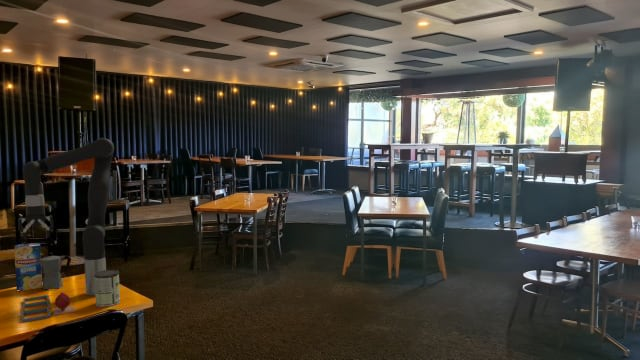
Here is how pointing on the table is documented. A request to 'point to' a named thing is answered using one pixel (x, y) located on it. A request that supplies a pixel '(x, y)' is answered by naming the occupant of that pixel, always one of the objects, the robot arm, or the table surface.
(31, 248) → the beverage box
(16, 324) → the table surface
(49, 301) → the tray
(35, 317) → the tray
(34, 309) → the tray
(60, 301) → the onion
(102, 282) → the coffee can
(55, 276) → the coffeepot
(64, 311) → the tile
